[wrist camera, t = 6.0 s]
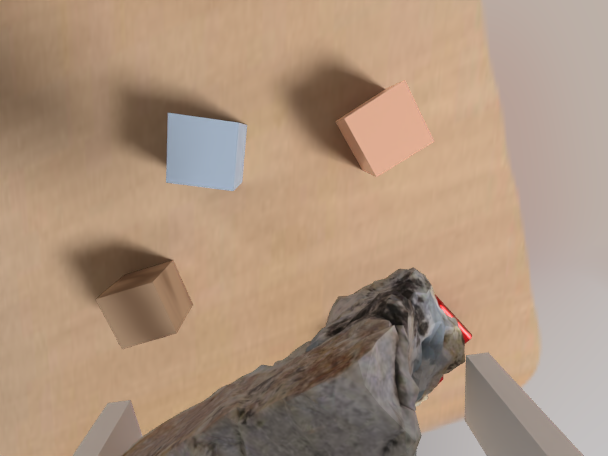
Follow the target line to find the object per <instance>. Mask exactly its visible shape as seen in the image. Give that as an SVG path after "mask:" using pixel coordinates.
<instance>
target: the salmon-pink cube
mask: <svg viewBox="0 0 608 456" xmlns="http://www.w3.org/2000/svg"><path fill="white" fill-rule="evenodd" d="M335 122H336V124H337V126H338V127H339V129H340V131H341V133H342V135H343V136H344V138H345V140H346V142H347V143H348V145H349V147H350V149H351V151H352V152H353V154H354V156H355V158H356V159H357V161H358V163H359V165H360V167H361V168H362V170H363V171H365V172H367V173H369V174H371V175H373V176H375V177H377V176H379V175H381V174H382V173H384V172H385V171H387V170H389V169H390V168H392V167H394V166H395V165H397V164H399V163H400V162H402V161H404V160H405V159H407V158H408V157H410V156H412V155H413V154H415V153H417V152H418V151H420V150H422V149H423V148H425V147H426V146H428V145H430V144H431V143H433V142H435V141H434V139H433V137H432V135H431V133H430V131H429V129H428V127H427V125H426V123H425V121H424V118H423V116H422V114H421V112H420V110H419V108H418V106H417V104H416V102H415V100H414V98H413V96H412V94H411V92H410V89H409V87H408V85H407V83H406V81H405V80H403V81H401V82H399V83H397V84H395V85H393V86H391V87H389V88H387V89H385V90H383V91H382V92H380V93H379V94H377V95H375V96H374V97H372V98H371V99H369V100H368V101H366V102H364V103H363V104H361V105H360V106H358V107H357V108H355V109H354V110H352V111H350V112H349V113H347V114H346V115H344V116H343V117H341V118H340V119H338V120H336V121H335Z"/></svg>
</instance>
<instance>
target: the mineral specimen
mask: <svg viewBox="0 0 608 456" xmlns="http://www.w3.org/2000/svg"><path fill="white" fill-rule="evenodd" d="M464 346H465V340H464V337H463V334H462V332H461V329H460V326H459V324H458V322H457V320H456V318H454V317H451V316H448V315H446V313H445V311H444V310H443V309H441V308H440V307H439V305H438V302H437V299H436V296H435V293H434V291H433V288H432V286H431V284H430V282H429V281H428V280H427V278H426V276H425V275H424V274H422V273H421V272H419V271H418V270H416V269H415V268H411V269H409V270H407V269H398V270H397V271H395V272H394V273H392V274H391V275H389V276H388V277H387V278H386V279H382V280H378V281H374V282H373V283H372V284H370V285H367V286H365V287H363V288H362V289H360V290H359V291H357V292H355V293H354V294H352V295H349V296H339V297H338V299H337V300H336V301H335V303H334V304H333V306H332V309H331V311H330V313H329V317H328V320H327V323H326V327H324V328H322V329H321V330H320V332H319V333H318V334H317V335H316V336H315V337H314V338H313V339H312V341H309V342H306V343H305V344H303V345H302V346H300V347H299V348H297V349H296V350H295V351H294V352H292V353H291V354H290V355H289V356H288V357H286V358H285V359H283V360H282V361H277V362H275V363H274V365H273V366H267V365H261V366H259V367H258V368H257V369H256V370H254V371H253V372H252V373H249V374H247V375H244V376H242V377H240V378H239V379H237V380H236V381H234V382H233V383H231V384H229V385H226V386H224V387H222V388H220V389H218V390H217V391H216V392H214V393H213V394H212V395H211V396H210V397H209V398H207V399H206V400H204V401H203V402H201V403H199V404H197V405H195V406H193V407H191V408H189V409H187V410H185V411H183V412H181V413H179V414H178V415H176V416H174V417H173V418H171V419H169V420H167V421H166V422H164V423H163V424H161V425H159V426H158V427H156V428H155V429H153V430H152V431H150V432H149V433H147V434H146V435H144V436H143V437H142V438H140V439H139V440H138V441H137V442H135V443H134V444H133V445H132V446H131V447H130V448H129V449H128V450H127V451H125V452H124V453H123V454H122V455H121V456H416V449H417V446H418V443H419V441H420V438H421V432H420V428H419V424H418V421H417V417H416V413H415V410H416V406H418V405H420V404H421V402H423V401H425V400H426V399H428V394H429V393H430V392H431V391H432V390H433V389H434V388H435V387H436V386H437V385H438V383H439V381H440V380H441V378H442V376H443V374H446V373H449V372H450V371H452V370H453V369H454V368H456V367H457V366H459V365H460V364H462V363H464V362H465V355H464Z"/></svg>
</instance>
